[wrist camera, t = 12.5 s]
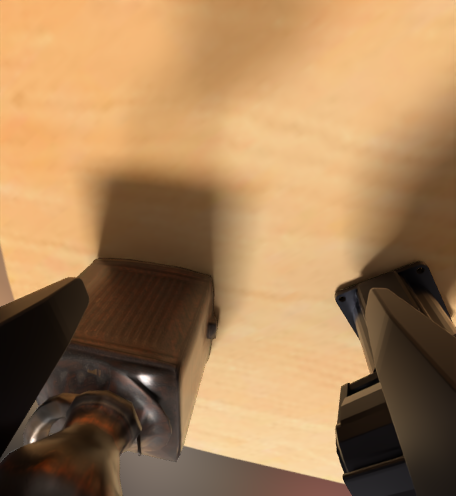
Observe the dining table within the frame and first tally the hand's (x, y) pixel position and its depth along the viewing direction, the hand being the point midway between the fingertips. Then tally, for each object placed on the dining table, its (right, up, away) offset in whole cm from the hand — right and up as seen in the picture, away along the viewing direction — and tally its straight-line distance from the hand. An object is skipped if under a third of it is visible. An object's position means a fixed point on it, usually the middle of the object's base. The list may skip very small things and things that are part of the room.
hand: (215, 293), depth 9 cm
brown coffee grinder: (-6, -2, +17) cm, 18 cm away
